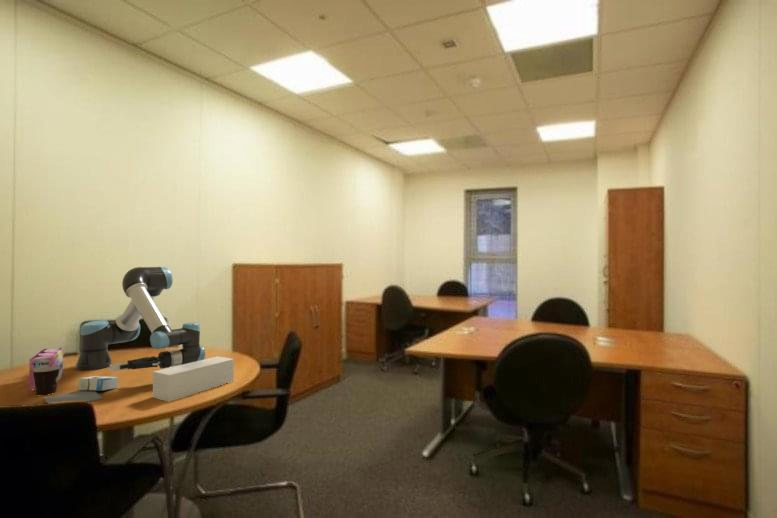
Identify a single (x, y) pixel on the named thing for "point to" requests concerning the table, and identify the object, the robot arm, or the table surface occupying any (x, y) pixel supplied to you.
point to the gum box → (45, 363)
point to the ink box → (97, 383)
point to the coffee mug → (46, 380)
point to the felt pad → (75, 397)
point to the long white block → (192, 378)
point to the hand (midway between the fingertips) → (110, 368)
